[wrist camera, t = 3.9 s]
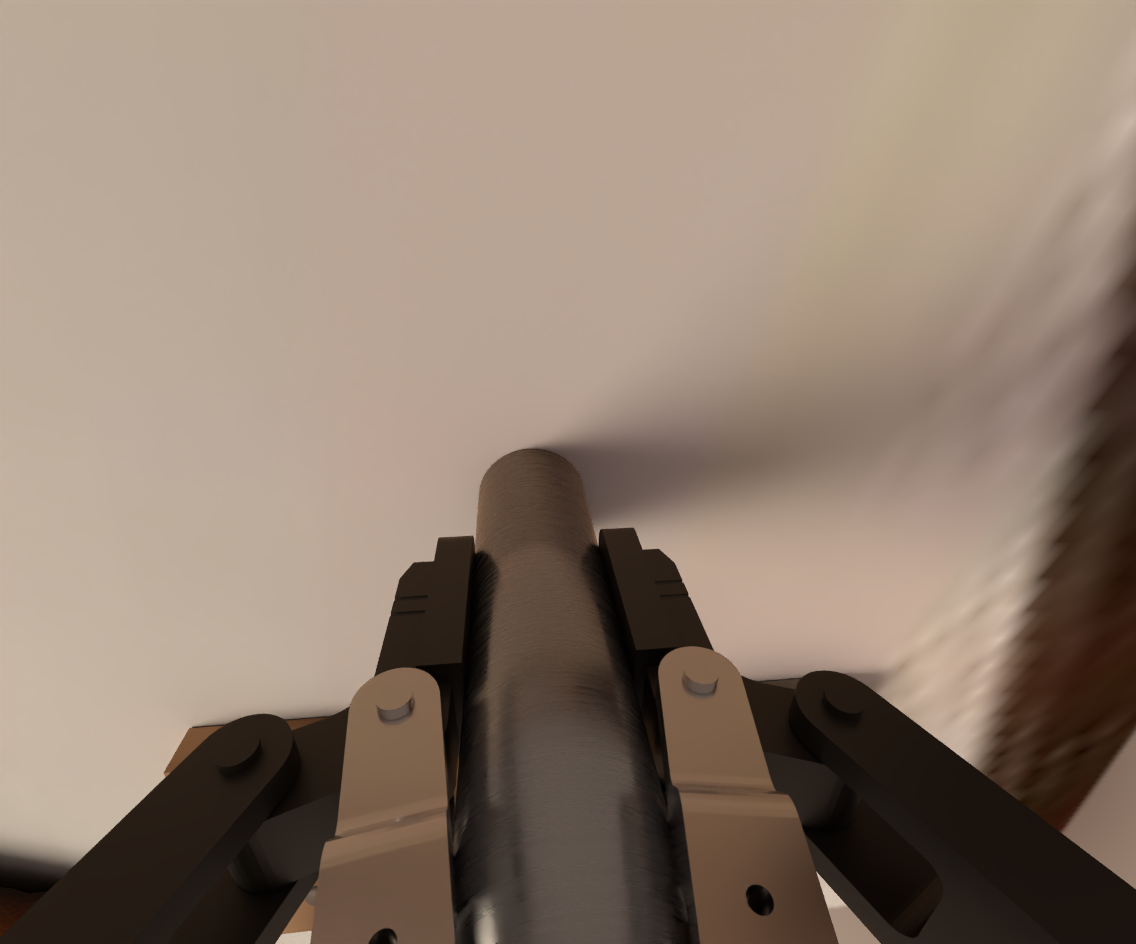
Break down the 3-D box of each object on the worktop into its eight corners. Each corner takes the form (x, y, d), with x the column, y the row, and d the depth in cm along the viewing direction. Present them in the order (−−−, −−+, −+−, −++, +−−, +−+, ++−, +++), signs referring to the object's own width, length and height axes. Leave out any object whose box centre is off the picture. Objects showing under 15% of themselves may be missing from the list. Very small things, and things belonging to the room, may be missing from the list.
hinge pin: (482, 541, 15) (438, 1333, 5) (475, 451, 14) (391, 1269, 3) (582, 535, 16) (745, 1275, 5) (584, 447, 14) (812, 1194, 4)
